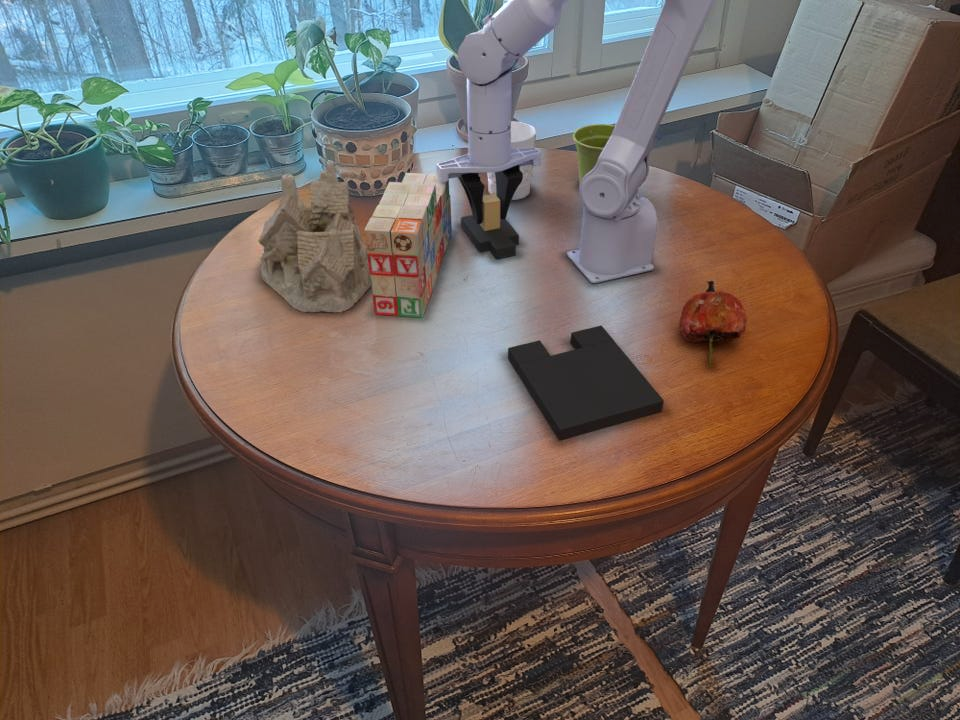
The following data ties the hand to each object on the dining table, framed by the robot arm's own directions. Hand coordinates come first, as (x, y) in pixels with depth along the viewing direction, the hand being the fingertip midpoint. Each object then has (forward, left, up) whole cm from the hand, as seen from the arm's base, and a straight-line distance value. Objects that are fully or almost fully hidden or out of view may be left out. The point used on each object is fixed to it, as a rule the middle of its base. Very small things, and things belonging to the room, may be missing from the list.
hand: (489, 218), depth 102 cm
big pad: (+2, +34, -3) cm, 34 cm away
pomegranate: (-15, +33, -3) cm, 36 cm away
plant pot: (-22, -8, -3) cm, 24 cm away
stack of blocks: (+13, +5, -3) cm, 14 cm away
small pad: (0, +1, -3) cm, 3 cm away
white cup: (-8, -12, -3) cm, 15 cm away
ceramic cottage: (+26, +2, -3) cm, 26 cm away
